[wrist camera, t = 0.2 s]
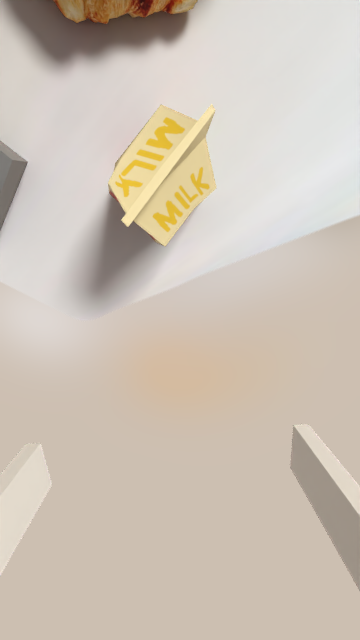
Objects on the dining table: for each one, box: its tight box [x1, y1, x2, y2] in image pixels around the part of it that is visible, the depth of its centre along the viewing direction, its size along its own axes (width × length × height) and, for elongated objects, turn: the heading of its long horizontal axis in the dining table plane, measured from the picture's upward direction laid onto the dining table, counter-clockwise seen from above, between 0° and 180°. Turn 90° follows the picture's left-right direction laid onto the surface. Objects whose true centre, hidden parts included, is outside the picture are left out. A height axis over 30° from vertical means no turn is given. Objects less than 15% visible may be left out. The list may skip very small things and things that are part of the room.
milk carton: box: [108, 104, 216, 246], centre depth 20 cm, size 9×9×20 cm
